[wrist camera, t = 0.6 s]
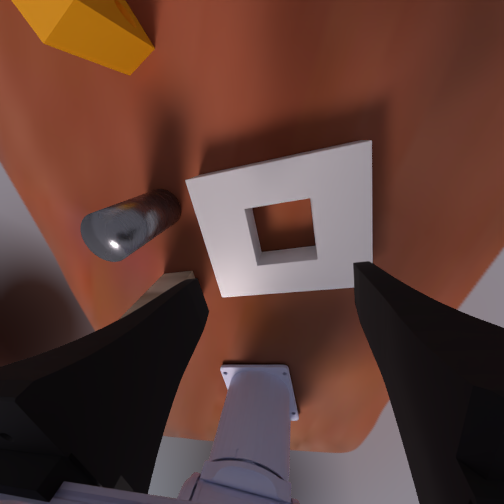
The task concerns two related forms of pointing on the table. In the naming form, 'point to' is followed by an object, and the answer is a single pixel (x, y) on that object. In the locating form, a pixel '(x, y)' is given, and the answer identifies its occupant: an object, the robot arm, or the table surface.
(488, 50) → the table surface
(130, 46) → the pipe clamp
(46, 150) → the table surface
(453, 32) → the table surface
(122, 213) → the round peg
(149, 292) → the square peg
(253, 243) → the socket block
